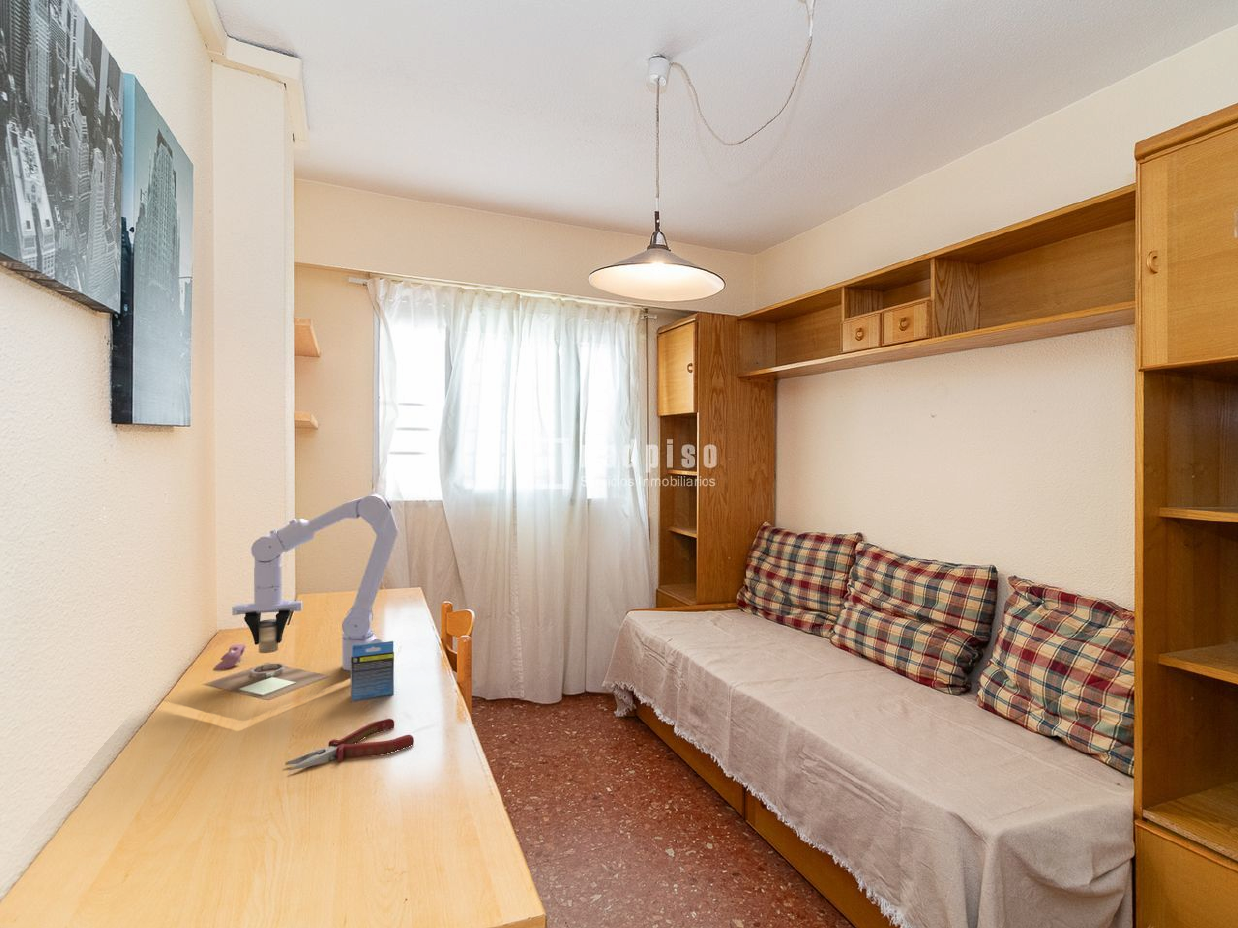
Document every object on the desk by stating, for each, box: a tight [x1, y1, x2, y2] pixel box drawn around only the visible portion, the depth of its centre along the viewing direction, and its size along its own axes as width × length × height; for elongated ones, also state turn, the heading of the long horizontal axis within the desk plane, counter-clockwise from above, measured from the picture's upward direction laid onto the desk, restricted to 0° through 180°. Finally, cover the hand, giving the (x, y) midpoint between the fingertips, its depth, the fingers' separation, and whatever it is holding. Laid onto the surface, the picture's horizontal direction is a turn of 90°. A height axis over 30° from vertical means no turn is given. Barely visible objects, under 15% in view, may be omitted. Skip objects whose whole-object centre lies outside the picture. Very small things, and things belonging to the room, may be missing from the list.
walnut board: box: [202, 662, 332, 701], centre depth 142 cm, size 22×16×2 cm
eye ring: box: [251, 662, 286, 679], centre depth 146 cm, size 7×7×1 cm
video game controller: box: [212, 643, 247, 671], centre depth 154 cm, size 10×5×7 cm, turn 22°
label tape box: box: [350, 640, 395, 702], centre depth 137 cm, size 9×4×12 cm, turn 115°
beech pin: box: [258, 618, 279, 654], centre depth 146 cm, size 4×4×7 cm
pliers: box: [285, 718, 415, 771], centre depth 110 cm, size 12×20×3 cm, turn 132°
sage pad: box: [239, 677, 296, 696], centre depth 137 cm, size 8×8×1 cm
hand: (268, 642), depth 146 cm, fingers closed on beech pin, 4 cm apart
